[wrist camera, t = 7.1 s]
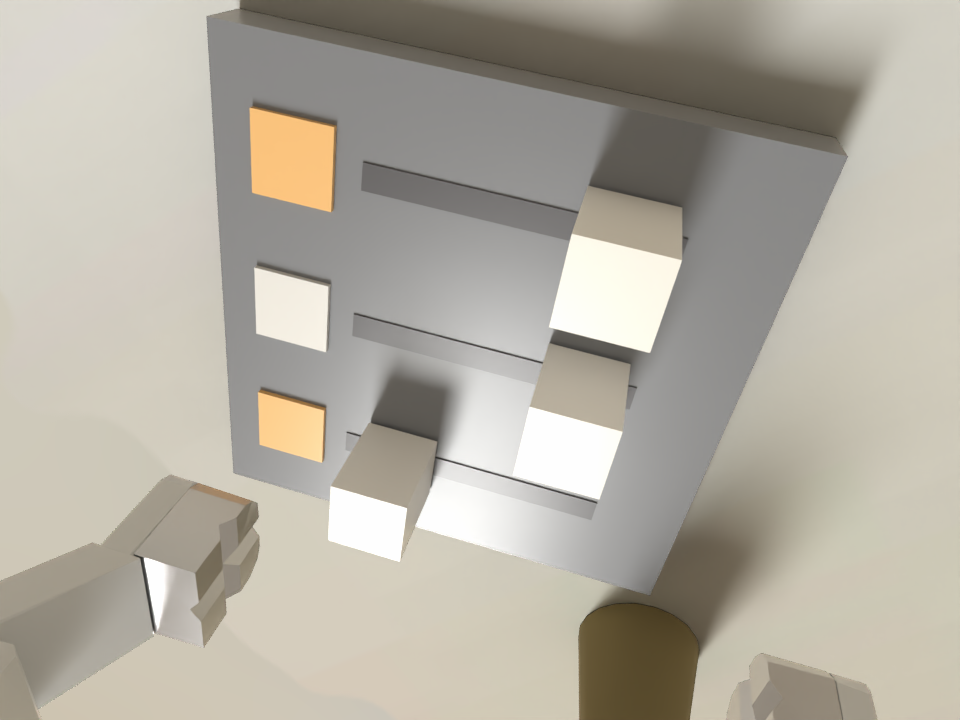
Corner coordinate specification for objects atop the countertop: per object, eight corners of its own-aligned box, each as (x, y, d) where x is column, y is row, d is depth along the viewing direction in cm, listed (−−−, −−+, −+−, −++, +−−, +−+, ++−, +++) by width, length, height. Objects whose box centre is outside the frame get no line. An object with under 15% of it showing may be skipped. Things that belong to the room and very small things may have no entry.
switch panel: (835, 137, 22) (849, 158, 20) (651, 561, 33) (649, 599, 32) (238, 8, 24) (203, 16, 23) (254, 446, 36) (231, 475, 34)
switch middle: (630, 364, 26) (623, 432, 22) (609, 427, 27) (599, 499, 24) (549, 343, 26) (529, 406, 23) (533, 407, 28) (512, 475, 24)
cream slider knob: (682, 207, 22) (682, 260, 19) (654, 291, 24) (650, 353, 21) (587, 185, 23) (571, 233, 19) (567, 269, 24) (548, 327, 21)
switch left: (437, 441, 30) (406, 508, 26) (429, 492, 31) (399, 561, 28) (369, 422, 30) (330, 486, 27) (364, 474, 32) (328, 540, 28)
